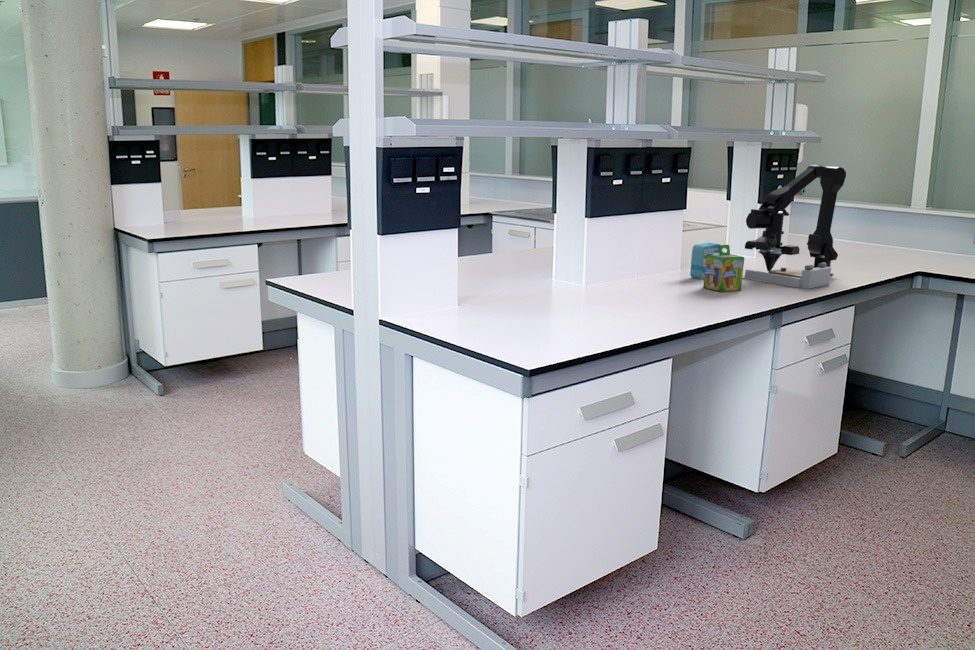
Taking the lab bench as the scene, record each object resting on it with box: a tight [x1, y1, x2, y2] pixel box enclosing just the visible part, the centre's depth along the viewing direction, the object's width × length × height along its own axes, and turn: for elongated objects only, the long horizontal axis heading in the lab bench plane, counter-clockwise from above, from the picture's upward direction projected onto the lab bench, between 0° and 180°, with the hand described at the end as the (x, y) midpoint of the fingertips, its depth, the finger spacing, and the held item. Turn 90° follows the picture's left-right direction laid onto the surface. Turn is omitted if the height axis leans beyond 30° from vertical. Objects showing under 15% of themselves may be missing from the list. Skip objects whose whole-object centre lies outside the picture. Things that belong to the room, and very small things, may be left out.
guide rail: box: [744, 269, 801, 289], centre depth 279 cm, size 2×21×3 cm, turn 40°
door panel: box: [767, 267, 802, 278], centre depth 280 cm, size 11×13×5 cm
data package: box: [689, 242, 721, 280], centre depth 285 cm, size 12×4×12 cm, turn 132°
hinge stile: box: [799, 262, 832, 289], centre depth 274 cm, size 14×3×8 cm, turn 130°
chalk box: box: [702, 244, 745, 293], centre depth 264 cm, size 9×9×15 cm
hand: (769, 271), depth 288 cm, fingers closed
